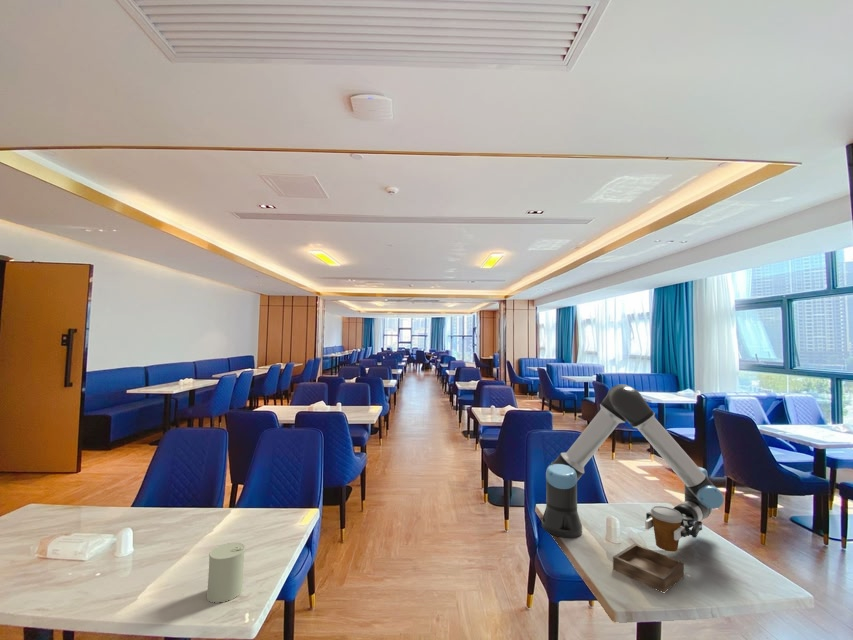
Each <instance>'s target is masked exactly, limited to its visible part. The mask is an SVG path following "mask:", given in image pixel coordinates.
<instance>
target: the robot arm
mask: <svg viewBox="0 0 853 640" xmlns="http://www.w3.org/2000/svg"><path fill="white" fill-rule="evenodd" d="M599 407H600V410H599V411H598V412H597V413H596V415H595V416H594V417H593V418H592V420H590V422H589V424H588V425H587V426H586V427H585V428H584V430H583V431H582V432H581V433H580V434H579V436H578V438H577V439H576V440H575V441H574V442H573V443H572V445H570V447H569V449H568V450H567V451H566V452H560V454H558V455H557V458H555V459H554V460H552V461H551V463H550V464H549V465H548V466H547V468H546V472H545V483H546V485H545V488H546V490H545V491H546V492H545V495H546V499H545V501H546V503H545V504H546V505H545V506H546V507H545V509H544V512H543V516H542V518H541V527H542V529H543V530H544V531H545V532H547V533H549V534H551V535H553V536H556V537H561V538H571V539H572V538H577V537H580V536H581V535H582V534H583V525H582V522H581V519H580V515H579V513H578V482H579V480H580V478H582V476H583V475H584V474H585V466H586V465H587V463H588V462H590V460H591V458H592V457H593V456H594V454H595V453H596V452H597V451H599V448H601V446H602V445H603V444H604V443H605V441H606V440H607V439H608V438H609V436H610V435H611V434H612V433H613V432H614V431H615V429H616V428H617V426H618V425H619V424H624V423H626V422H628V424H629V425H630V426H631V427H632V428H633V429H637V430H638V432H640V434H641V435H642V436H643V437H644V438H645V439H646V441H648V443H649V444H650V445H651V446H652V448H653V449H654V450H655V451H656V452H657V453H658V455H659V456H660V457H661V458H662V459H663V460H664V462H665V463H666V464H667V465H668V466H669V468H670V469H672V471H673V472H674V473H675V474H676V475H677V477H679V479H680V480H681V481H682V483H683V485H684V501H683V502H682V503H681V502H680V503H679V504H678V505H676V506H674V507H673V508H672V509H675V510H677V511H679V512H680V513H681V516H682V518H683V520H682V522H681V527H680V528H678V529H677V530H675V531H674V540H676V541H677V540H679V541H680V539H681V538H687V537H690V536H691V537H692V538H697V537H698V534H699V533H700V531H702V530H703V522H702V521H704V520H705V519H708V518H709V516H710V515H711V513H712V511H713V510H716V509H720V508H721V507H722V506H723V505H724V502H725V497H724V495H723V493H722V492H721V490H720V489H719V488H718V487H716V485H714V483H713V482H712V481H711V480H710V479H709V476H708V474H709V473H708V471H707V469H706V468H703V467H700V466H698V465H697V464H696V463H695V461H694V460H693V459H692V458H691V457H690V456H689V455H688V454H687V452H686V451H685V450H684V449H683V448H682V447H681V446H680V444H679V443H678V442H677V441H676V440H675V439H674V437H673V436H672V435H671V434H670V433H669V432H668V431H667V429H665V428H664V426H663V425H662V424H661V423H660V421H659V420H657V418H656V416H655V415H656V414H655V412H654V411H653V410H652V408H651V407H650V406H649V404H648V402H647V401H646V400H645V398H644V397H643V396H642V395H641V393H640V391H638V390H637V389H635V388H634V387H632V386H630V385H628V384H623V383H619V384H615V385H614V386H612V387H611V388H609V389H608V391H607V393H606V396H605V397H604V398H603V399H602V401H601V402H600V404H599ZM645 518H646V520H645V521H644V522H645V523H644V524H645V525H644V526H645V527H644V529H645V530H647V531H648V530H649V529H651V528H654V526H653V519H652V515H651V513H650V511H649V512H646V514H645ZM690 528H691V529H690Z"/></svg>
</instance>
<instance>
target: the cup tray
mask: <svg viewBox="0 0 853 640" xmlns="http://www.w3.org/2000/svg"><path fill="white" fill-rule="evenodd" d="M684 566H685V565H684V562H682V561H679V560H678V559H674V558H672V557H670V556H667V555H664V554H662V553H660V552H657V551H655V550H652V549H649V548H646V547H645V546H642V545H641V544H637V543H633V544H632V545H630V546H628V547H626V548H625V549H623V550H622V551H619V552H618V553H617V554H615V555H613V556H612V569H613V571H614V572H615V571H616V573H617V572H618V573H619V574H621V575H624V576H625V577H628V578H630V579H632V580H634V581H636V582H638V583H640V584H643V585H645V586H647V587H649V588H651V587H652V588H651V589H653V588H654V589H653V590H655V589H657V590H659V591H662V592H665V591H666V590H667V589H669V588H670V587H671V586H672V587H673V586H674V584H675V583H676V584H677V583H679V582H680V581H681V580H682V579H684V577H685V567H684ZM676 584H675V585H676ZM672 587H671V588H672ZM671 588H670V589H671ZM670 589H669V590H670ZM657 590H656V591H657ZM659 591H658V592H659ZM666 592H667V591H666ZM666 592H665V593H666Z"/></svg>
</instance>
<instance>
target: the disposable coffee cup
mask: <svg viewBox="0 0 853 640" xmlns="http://www.w3.org/2000/svg"><path fill="white" fill-rule="evenodd" d="M649 512H650V513H651V515H652V519H653V531H654V539H655V545H656V546H657V548H659V549H661V550H664V551H665V552H672V553H673V552H675V553H676V552H677V551H678V549H679V541H680V539H679V540H677V541H676V540H674V531H675V530H677V529H678V528H680V527H681V522H682V520H683V518H682V516H681V513H680V512H679V511H677V510H675V509H673V508H672V507H668V506H662V505H653V506H652V507H651V509H650V510H649Z"/></svg>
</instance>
